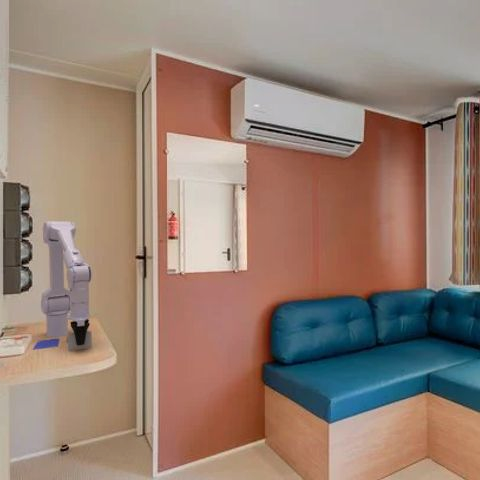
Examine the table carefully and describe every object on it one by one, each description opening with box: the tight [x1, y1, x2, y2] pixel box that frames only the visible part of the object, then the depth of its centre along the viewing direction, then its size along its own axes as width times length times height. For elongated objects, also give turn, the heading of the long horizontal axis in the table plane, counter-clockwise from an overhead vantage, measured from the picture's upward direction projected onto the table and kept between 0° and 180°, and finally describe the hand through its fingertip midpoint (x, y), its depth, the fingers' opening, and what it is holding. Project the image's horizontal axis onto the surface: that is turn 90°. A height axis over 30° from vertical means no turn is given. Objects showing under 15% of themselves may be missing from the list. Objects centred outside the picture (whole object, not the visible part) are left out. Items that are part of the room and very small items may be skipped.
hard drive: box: [32, 338, 60, 351], centre depth 125 cm, size 2×8×12 cm
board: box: [67, 330, 93, 352], centre depth 119 cm, size 2×7×6 cm, turn 116°
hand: (80, 343), depth 119 cm, fingers closed on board, 2 cm apart
